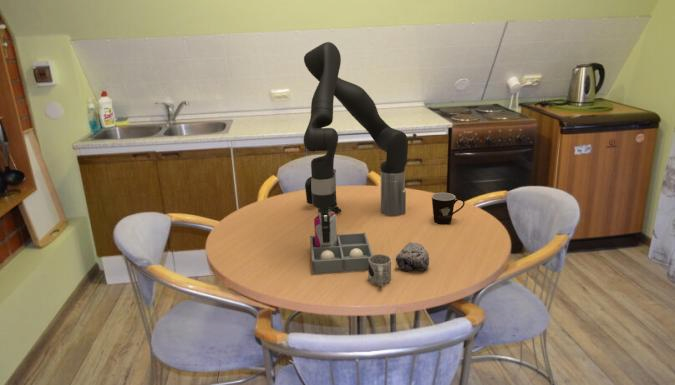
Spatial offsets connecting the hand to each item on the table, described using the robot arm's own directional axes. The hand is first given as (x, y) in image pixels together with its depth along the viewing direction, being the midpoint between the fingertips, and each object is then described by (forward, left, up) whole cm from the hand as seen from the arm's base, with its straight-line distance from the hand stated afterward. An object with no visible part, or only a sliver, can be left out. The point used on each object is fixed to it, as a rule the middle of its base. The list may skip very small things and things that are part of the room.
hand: (325, 237), depth 169 cm
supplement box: (0, 0, -4) cm, 4 cm away
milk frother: (-4, -41, -6) cm, 42 cm away
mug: (-14, +22, -6) cm, 27 cm away
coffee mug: (-46, -19, -6) cm, 51 cm away
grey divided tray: (-4, +5, -6) cm, 9 cm away
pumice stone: (-25, +14, -6) cm, 30 cm away
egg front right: (0, +9, -5) cm, 10 cm away
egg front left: (-9, +9, -5) cm, 14 cm away
